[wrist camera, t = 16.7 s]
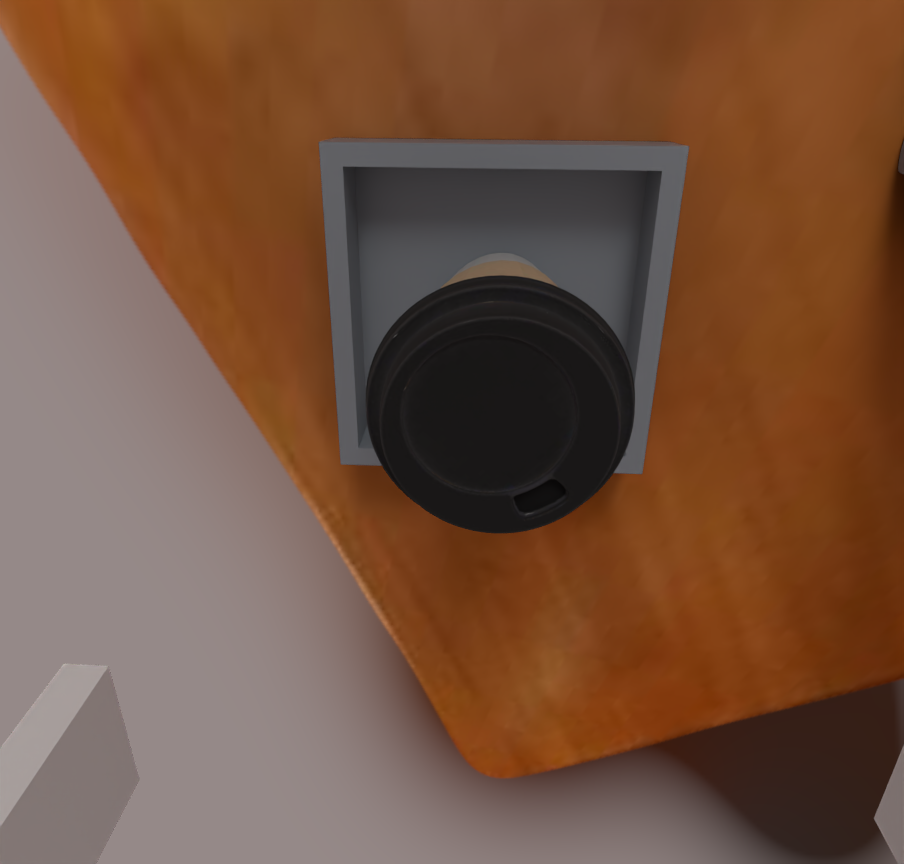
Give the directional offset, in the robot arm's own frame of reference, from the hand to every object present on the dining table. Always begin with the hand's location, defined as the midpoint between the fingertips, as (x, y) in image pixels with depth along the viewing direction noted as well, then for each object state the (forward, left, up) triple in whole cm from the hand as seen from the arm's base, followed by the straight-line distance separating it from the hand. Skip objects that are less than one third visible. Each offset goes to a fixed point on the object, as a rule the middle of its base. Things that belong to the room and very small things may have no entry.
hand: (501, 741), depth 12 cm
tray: (0, 0, -28) cm, 28 cm away
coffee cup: (0, 0, -28) cm, 28 cm away
